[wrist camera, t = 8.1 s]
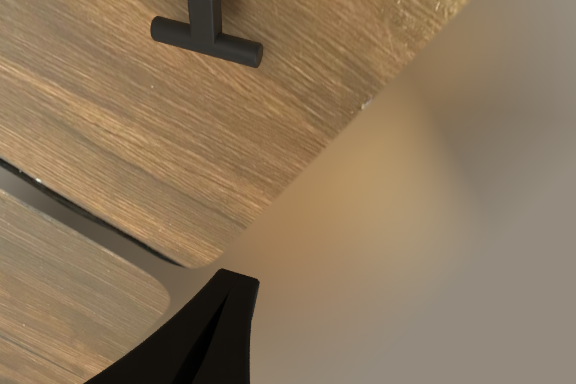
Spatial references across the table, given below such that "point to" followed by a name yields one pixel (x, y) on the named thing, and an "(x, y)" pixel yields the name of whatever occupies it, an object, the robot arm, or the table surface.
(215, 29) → the lever
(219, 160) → the table surface
